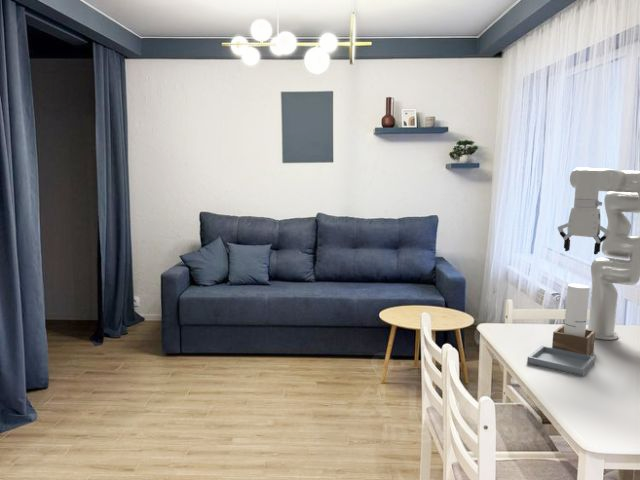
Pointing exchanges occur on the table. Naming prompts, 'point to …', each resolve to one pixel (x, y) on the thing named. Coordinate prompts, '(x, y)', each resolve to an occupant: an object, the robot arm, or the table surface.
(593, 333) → the walnut box
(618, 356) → the table surface
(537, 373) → the table surface
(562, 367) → the slate tray
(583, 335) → the cylindrical container
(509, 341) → the table surface
